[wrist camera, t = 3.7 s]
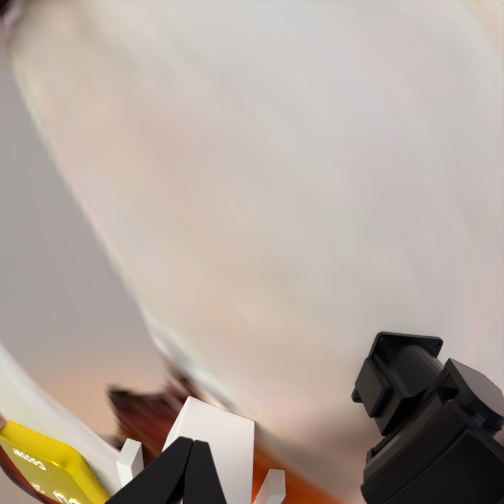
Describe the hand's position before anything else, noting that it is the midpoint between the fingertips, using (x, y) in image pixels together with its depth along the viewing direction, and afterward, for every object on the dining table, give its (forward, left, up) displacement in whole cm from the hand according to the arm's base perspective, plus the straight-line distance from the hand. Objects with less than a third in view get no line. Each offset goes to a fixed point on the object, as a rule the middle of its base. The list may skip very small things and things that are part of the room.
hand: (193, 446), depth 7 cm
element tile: (+21, +34, -14) cm, 42 cm away
